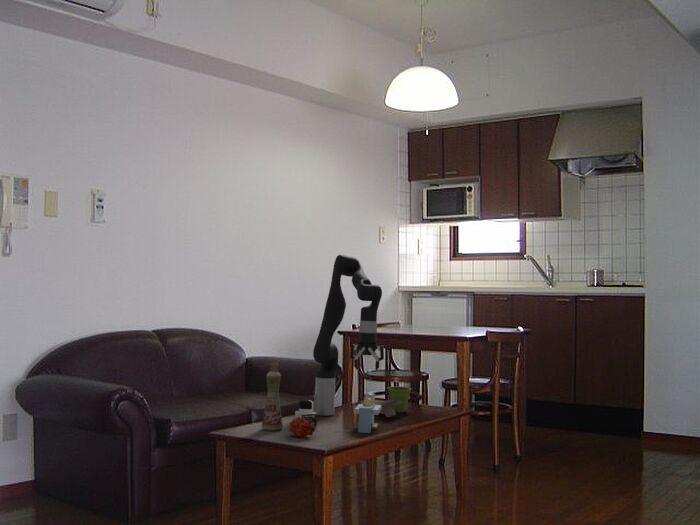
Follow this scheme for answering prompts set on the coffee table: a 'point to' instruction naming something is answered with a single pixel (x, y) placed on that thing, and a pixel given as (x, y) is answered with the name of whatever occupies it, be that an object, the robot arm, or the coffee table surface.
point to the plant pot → (399, 397)
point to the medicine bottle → (307, 412)
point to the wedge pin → (368, 401)
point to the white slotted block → (389, 407)
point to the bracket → (365, 418)
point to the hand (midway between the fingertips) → (366, 369)
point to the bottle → (272, 401)
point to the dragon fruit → (301, 427)
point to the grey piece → (374, 411)
